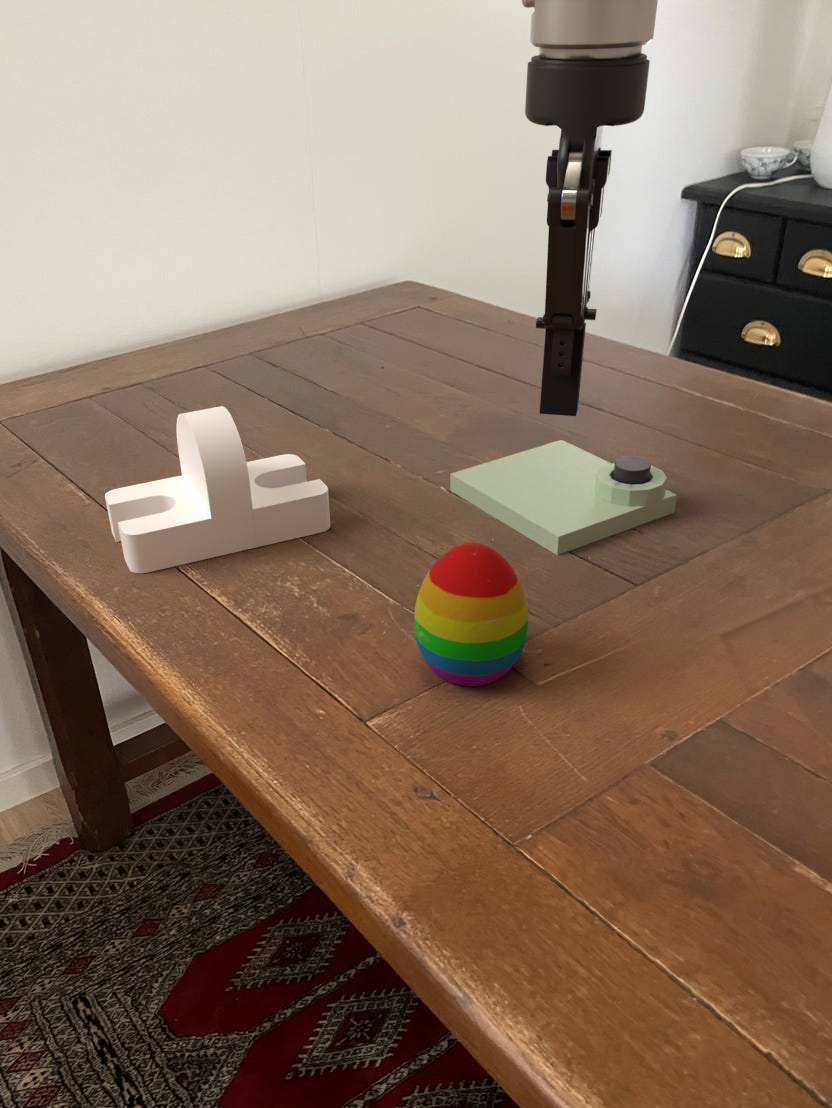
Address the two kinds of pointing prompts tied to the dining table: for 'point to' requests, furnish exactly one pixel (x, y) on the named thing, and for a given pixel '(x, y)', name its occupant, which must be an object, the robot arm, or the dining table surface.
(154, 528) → the bracket
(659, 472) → the scale
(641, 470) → the button
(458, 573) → the decorative egg
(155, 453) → the dining table surface
